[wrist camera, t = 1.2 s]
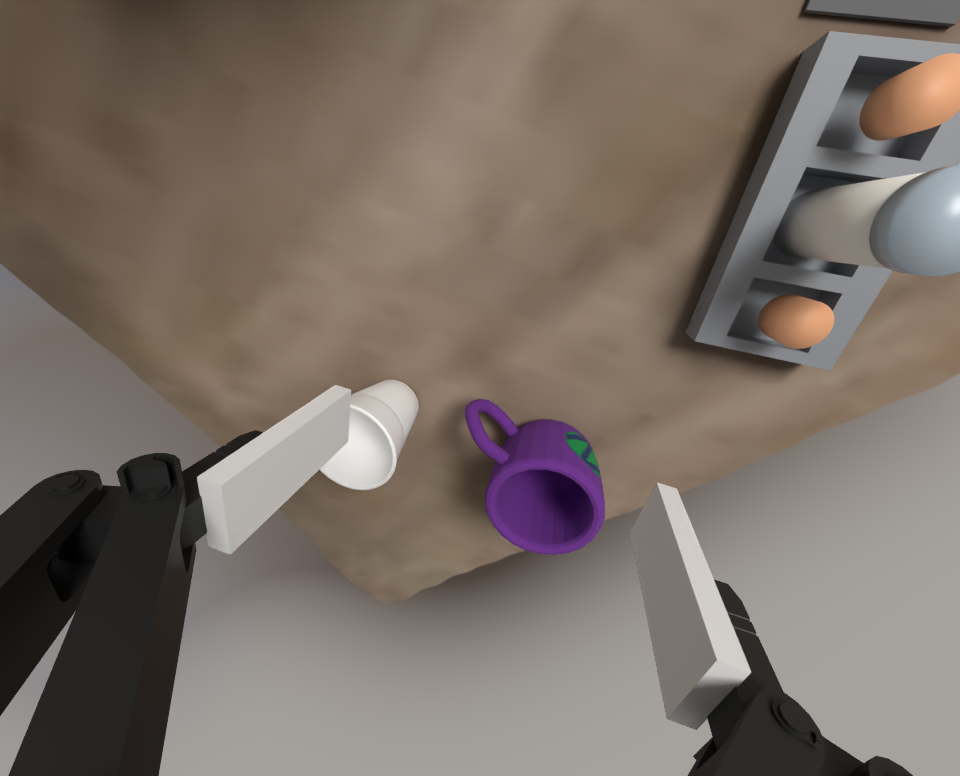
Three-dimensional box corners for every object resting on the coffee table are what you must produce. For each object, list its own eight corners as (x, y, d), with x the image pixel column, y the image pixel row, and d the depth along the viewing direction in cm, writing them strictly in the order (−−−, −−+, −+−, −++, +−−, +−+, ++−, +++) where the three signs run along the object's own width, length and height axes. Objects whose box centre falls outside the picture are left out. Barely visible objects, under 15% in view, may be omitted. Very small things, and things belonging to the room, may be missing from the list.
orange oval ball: (880, 70, 24) (920, 49, 21) (944, 77, 23) (993, 57, 20) (847, 136, 25) (880, 125, 22) (906, 144, 25) (947, 134, 22)
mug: (619, 461, 42) (632, 524, 33) (544, 507, 47) (538, 573, 38) (515, 353, 40) (498, 389, 31) (447, 412, 45) (416, 459, 36)
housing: (803, 51, 26) (829, 31, 24) (979, 70, 25) (1029, 51, 22) (685, 332, 35) (694, 341, 32) (809, 359, 34) (830, 370, 31)
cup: (450, 408, 44) (416, 460, 34) (399, 449, 48) (355, 505, 39) (392, 346, 43) (339, 382, 33) (345, 394, 47) (285, 438, 37)
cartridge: (792, 182, 29) (933, 152, 18) (865, 193, 28) (1061, 170, 17) (760, 252, 31) (867, 265, 20) (827, 264, 30) (977, 284, 19)
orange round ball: (770, 290, 29) (791, 296, 27) (819, 299, 29) (845, 306, 26) (749, 332, 31) (766, 342, 28) (795, 342, 31) (817, 353, 28)
